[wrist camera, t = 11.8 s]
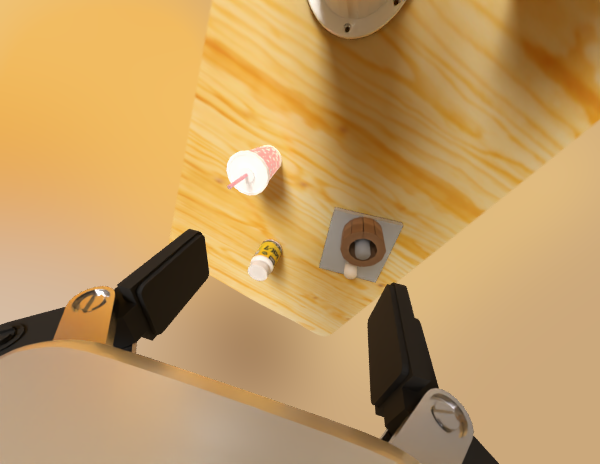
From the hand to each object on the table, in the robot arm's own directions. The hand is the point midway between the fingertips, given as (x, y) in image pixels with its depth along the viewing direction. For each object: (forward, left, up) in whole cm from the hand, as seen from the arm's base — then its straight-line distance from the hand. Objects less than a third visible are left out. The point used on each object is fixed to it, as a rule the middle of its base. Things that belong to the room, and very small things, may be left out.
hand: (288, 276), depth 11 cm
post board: (+16, +8, -28) cm, 33 cm away
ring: (+13, +8, -27) cm, 31 cm away
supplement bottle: (+22, -9, -28) cm, 37 cm away
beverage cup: (+3, -11, -28) cm, 31 cm away
